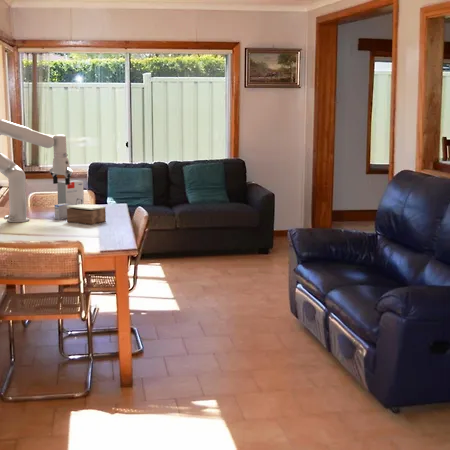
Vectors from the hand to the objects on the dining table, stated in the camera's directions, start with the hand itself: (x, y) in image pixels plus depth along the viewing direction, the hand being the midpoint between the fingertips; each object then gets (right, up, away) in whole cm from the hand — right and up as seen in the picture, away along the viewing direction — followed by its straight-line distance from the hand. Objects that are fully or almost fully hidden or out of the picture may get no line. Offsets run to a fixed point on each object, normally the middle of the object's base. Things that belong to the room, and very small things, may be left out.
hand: (61, 184), depth 430 cm
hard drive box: (0, -17, +26) cm, 31 cm away
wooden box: (+16, -23, -7) cm, 29 cm away
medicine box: (0, -21, +4) cm, 21 cm away
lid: (+16, -14, -9) cm, 24 cm away
